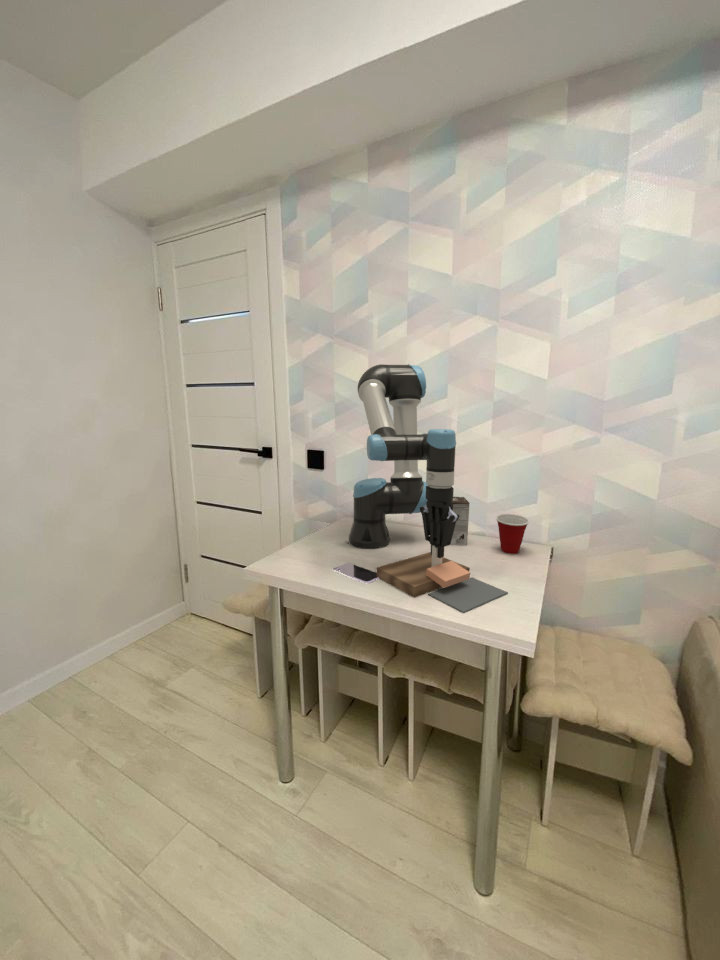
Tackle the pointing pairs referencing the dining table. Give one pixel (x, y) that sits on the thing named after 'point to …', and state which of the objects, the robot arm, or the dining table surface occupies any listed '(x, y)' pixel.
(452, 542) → the coffee box
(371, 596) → the dining table surface
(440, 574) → the coral block
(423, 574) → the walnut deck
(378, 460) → the robot arm
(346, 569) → the mobile phone
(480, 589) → the rubber mat
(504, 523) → the plastic cup
